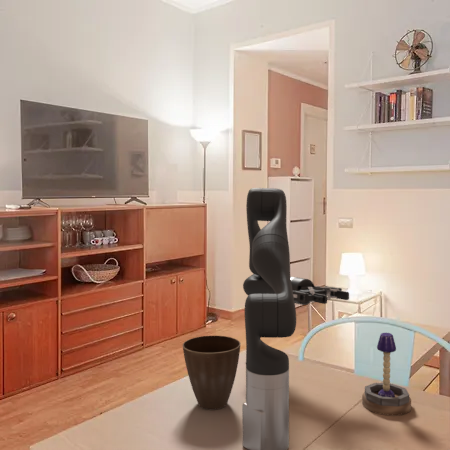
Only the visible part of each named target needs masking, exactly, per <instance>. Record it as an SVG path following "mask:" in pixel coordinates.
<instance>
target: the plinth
mask: <svg viewBox="0 0 450 450" xmlns="http://www.w3.org/2000/svg"><path fill="white" fill-rule="evenodd" d="M389 385H390V390H391V391H392V392H393V393H394V395H395V397H382V396H379V395H378V393H379V391H380V390H382V389H383V382H373V383H370V384H368V385H365V386H364V392H363V393H362V394H361V403H362V406H363V407H364V408H365V409H366V410H368V411H370V412H372V413H375V414H379V415H383V416H403V415H407V414H408V413H409V412H411V410H412V399H411V397H410V394H409V392H408V390H407V388H406V387H403V386H399V385H397V384H394V383H391V382H390V384H389Z"/></svg>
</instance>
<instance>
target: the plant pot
mask: <svg viewBox="0 0 450 450" xmlns="http://www.w3.org/2000/svg"><path fill="white" fill-rule="evenodd" d="M182 351H183V357H184V362H185V367H186V371H187V375H188V379H189V381H190V386H191V388H192V391H193V394H194V396H195V400H196V401H197V404H198V406H199V407H200V408H202V409H205V410H214V411H215V410H219V409H223V408H225V407H226V406H227V405H228V402H229V399H230V397H231V394H232V390H233V387H234V382H235V381H236V375H237V372H238V371H237V369H238V365H239V360H240V353H241V341H239V340H238V338H235V337H230V336H224V335H203V336H202V335H201V336H196V337H192V338H189V339H187V340H185V341H184V342H183V343H182Z"/></svg>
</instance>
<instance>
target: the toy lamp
mask: <svg viewBox="0 0 450 450" xmlns="http://www.w3.org/2000/svg"><path fill="white" fill-rule="evenodd" d="M376 348H377V350H378V351H379V352H382V354H383V357H382V359H383V363H382V365H383V368H382V372H383V374H382V378H383V379H382V383H383V389H382V390H380V391H379V393H378V395H379V396H382V397H395V395H394V393H393V392H392V391H391V390H390V385H389V384H390V383H391V381H390V380H391V379H390V378H391V353H394V352H396V350H397V346H396V341H395V338H394V335H393V334H392V333H390V332H382V333H380V335H379V338H378V342H377V346H376Z"/></svg>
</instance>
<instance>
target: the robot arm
mask: <svg viewBox="0 0 450 450" xmlns="http://www.w3.org/2000/svg"><path fill="white" fill-rule="evenodd" d="M286 196H287V195H286V194H285V192H284V191H283V189H280V188H274V187H270V188H269V187H253V188H250V189H249V190H248V193H247V196H246V225H247V235H248V243H249V257H248V258H249V261H248V267H249V270H250V272H251V273H252V274H251V275H249V276H248V277H246V279H245V280H243V283H242V288H243V291H244V293H245V294H246V295H247V297H246V299H245V300H244V301H245V303H244V329H245V341H246V342H245V345H246V346H245V347H246V348H245V352H246V353H245V355H246V356H245V358H246V359H245V402H243V403H242V405H241V406H242V416H241V417H242V447H244V448H246V449H247V450H289V447H290V446H289V445H290V415H289V414H290V411H289V410H290V359H289V356H288V354H287V353H286V352H284V351H283V350H281V349H277V348H275V347H272V346H270V345H269V344H267V343H265V342H264V341H263V340H262V339H261V338H269V339H271V338H272V339H273V338H274V339H275V338H279V339H280V338H283V339H284V338H289V337H292V336H293V335H294V333H295V331H296V328H297V310H296V305H297V304H298V305H301V306H308V305H309V304H311V303H312V304H313V303H317V304H318V303H319V304H324V305H326V304H328V301H329V300H331V299H335V300H338V299H339V300H344V301H349V300H350V293H349V291H347V290H346V291H345V290H343V288H341V287H333V286H329V285H324V286H320V285H315V284H314V282H313V281H312V280H311V279H310V278H309V279H308V278H303V277H298V276H297V277H296V276H291V260H290V259H291V256H290V255H291V254H290V246H289V245H290V244H289V238H288V230H287V215H288V214H287V197H286ZM259 222H268V223H267V224H266V225H264V226H263V227H262V228H261V227H260V224H259Z"/></svg>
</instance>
